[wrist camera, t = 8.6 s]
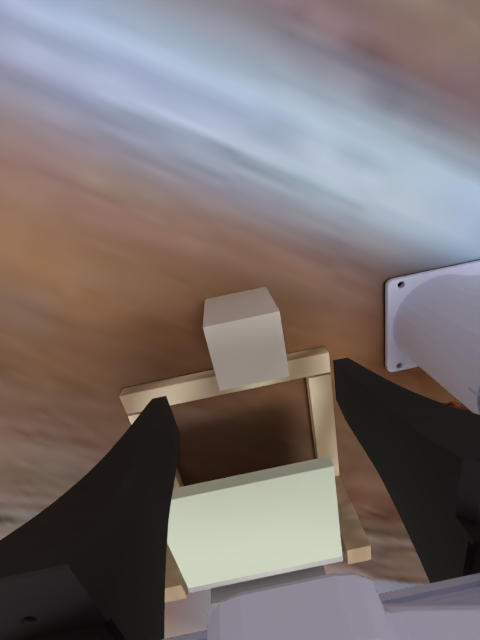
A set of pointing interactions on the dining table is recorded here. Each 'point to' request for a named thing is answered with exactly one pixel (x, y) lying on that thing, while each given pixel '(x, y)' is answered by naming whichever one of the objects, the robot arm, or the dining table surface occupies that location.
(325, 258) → the dining table surface
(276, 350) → the white block
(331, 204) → the dining table surface
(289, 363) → the frame
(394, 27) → the dining table surface
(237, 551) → the trapdoor
